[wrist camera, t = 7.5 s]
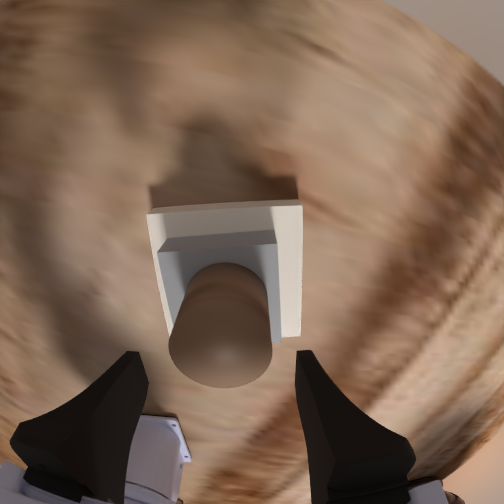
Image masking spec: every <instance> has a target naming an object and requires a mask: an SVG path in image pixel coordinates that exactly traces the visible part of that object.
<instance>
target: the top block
mask: <svg viewBox="0 0 504 504" xmlns="http://www.w3.org/2000/svg"><path fill="white" fill-rule="evenodd" d="M157 256H158V261H159V266H160V270H161V275H162V280H163V284H164V289H165V293H166V298H167V302H168V306H169V311H170V315H171V319H172V323H173V326H174V323H175V320H176V317H177V315H178V312H179V309H180V306H181V303H182V301H183V298H184V295H185V292H186V290H187V287H188V284H189V282H190V280H191V279H192V277H193V276H194V275H195V274H196V273H197V272H198V271H200V270H201V269H202V268H204V267H206V266H209V265H211V264H215V263H224V262H228V263H235V264H239V265H242V266H244V267H246V268H248V269H250V270H251V271H253V272H254V273H255V274H256V275H258V277H259V278H260V279H261V280H262V282H263V283H264V285H265V287H266V290H267V295H268V306H269V317H270V329H271V340H272V343H281V342H282V336H281V310H280V287H279V266H278V246H277V239H276V235H275V230H263V231H249V232H236V233H223V234H211V235H199V236H187V237H175V238H167V239H166V240H165V242H164V243H163V245H162V246H161V247H160V249H159V250H158V252H157Z"/></svg>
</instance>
